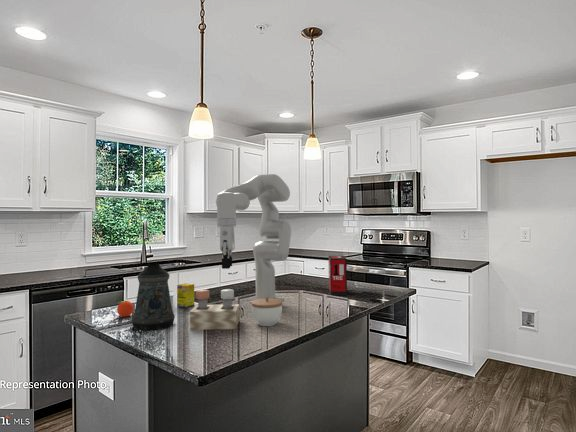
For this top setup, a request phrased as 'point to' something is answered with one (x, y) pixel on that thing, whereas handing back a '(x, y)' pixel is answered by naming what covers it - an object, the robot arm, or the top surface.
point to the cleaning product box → (337, 275)
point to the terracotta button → (202, 299)
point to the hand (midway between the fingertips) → (227, 266)
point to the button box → (214, 317)
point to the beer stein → (153, 300)
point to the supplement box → (185, 295)
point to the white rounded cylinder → (227, 298)
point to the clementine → (125, 308)
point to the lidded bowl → (267, 311)
